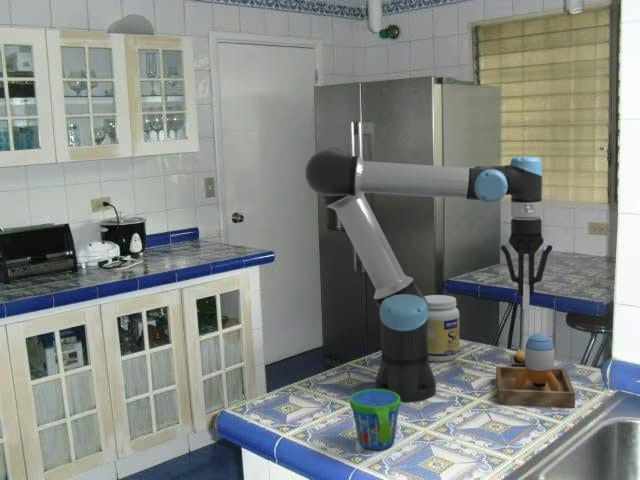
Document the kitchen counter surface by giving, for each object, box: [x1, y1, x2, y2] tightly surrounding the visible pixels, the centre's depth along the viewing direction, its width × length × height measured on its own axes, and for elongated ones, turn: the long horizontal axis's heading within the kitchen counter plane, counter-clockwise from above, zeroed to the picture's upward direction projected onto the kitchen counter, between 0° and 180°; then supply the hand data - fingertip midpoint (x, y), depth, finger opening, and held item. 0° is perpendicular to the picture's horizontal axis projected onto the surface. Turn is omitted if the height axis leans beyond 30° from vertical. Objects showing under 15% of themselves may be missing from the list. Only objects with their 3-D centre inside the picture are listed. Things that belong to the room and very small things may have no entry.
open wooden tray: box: [495, 365, 576, 409], centre depth 171 cm, size 17×17×4 cm
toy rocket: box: [515, 332, 559, 391], centre depth 170 cm, size 10×11×15 cm
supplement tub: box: [423, 294, 461, 363], centre depth 200 cm, size 12×12×17 cm
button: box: [515, 349, 525, 363], centre depth 184 cm, size 5×5×2 cm
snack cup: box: [349, 388, 402, 451], centre depth 147 cm, size 16×10×10 cm
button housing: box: [509, 354, 526, 367], centre depth 184 cm, size 7×7×4 cm
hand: (525, 308), depth 182 cm, fingers closed
